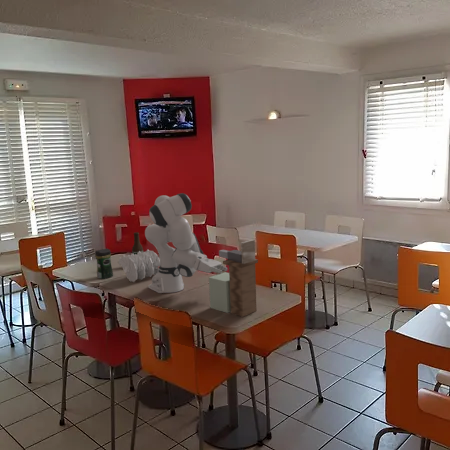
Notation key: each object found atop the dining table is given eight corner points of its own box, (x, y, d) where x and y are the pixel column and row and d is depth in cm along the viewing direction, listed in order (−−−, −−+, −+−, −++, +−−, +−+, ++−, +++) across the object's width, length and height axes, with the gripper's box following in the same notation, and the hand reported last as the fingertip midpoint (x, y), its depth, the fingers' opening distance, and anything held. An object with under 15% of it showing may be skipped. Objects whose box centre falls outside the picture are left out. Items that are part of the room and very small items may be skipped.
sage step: (210, 307, 235) (208, 277, 232) (226, 301, 243) (225, 272, 241) (227, 312, 227) (225, 281, 224) (243, 306, 235) (242, 275, 232)
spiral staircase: (162, 281, 299) (129, 289, 281) (146, 266, 309) (114, 272, 291) (169, 258, 291) (136, 264, 273) (153, 243, 301) (120, 248, 283)
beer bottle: (131, 267, 322) (128, 233, 317) (136, 264, 329) (134, 231, 325) (140, 267, 319) (138, 233, 315) (146, 265, 326) (144, 231, 322)
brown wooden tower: (225, 312, 228) (222, 240, 221) (241, 305, 236) (238, 236, 230) (243, 317, 219) (240, 243, 213) (259, 310, 228) (257, 239, 222)
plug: (217, 256, 232) (217, 249, 232) (225, 255, 235) (225, 247, 235) (240, 263, 218) (240, 254, 218) (248, 261, 221) (248, 252, 221)
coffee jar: (108, 274, 305) (106, 247, 302) (114, 276, 300) (112, 248, 296) (95, 277, 299) (92, 249, 296) (101, 280, 293) (98, 251, 290)
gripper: (205, 265, 257) (227, 273, 254) (192, 269, 238) (217, 279, 234) (208, 254, 257) (231, 263, 253) (196, 258, 237) (220, 267, 234)
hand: (224, 270), depth 244 cm, fingers open, 8 cm apart
